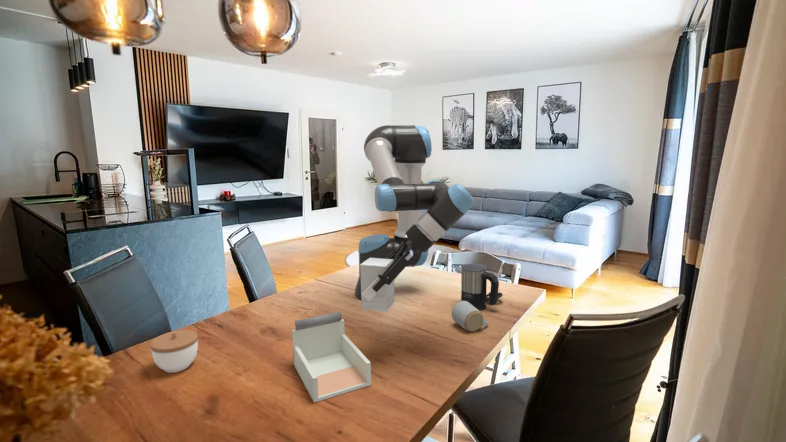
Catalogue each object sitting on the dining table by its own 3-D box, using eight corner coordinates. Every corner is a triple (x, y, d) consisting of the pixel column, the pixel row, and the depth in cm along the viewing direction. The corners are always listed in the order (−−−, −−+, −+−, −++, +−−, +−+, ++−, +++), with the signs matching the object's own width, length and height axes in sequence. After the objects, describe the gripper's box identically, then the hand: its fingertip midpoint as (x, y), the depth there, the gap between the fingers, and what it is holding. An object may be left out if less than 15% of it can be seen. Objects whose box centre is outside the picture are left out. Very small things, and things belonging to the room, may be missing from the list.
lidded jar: (168, 382, 95) (163, 346, 93) (145, 370, 101) (141, 336, 99) (208, 362, 104) (205, 329, 102) (185, 352, 110) (182, 320, 108)
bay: (293, 363, 103) (290, 320, 101) (343, 350, 110) (341, 309, 108) (314, 402, 87) (311, 351, 85) (371, 384, 93) (370, 337, 91)
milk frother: (457, 309, 139) (458, 268, 136) (466, 294, 153) (467, 257, 151) (498, 314, 134) (499, 273, 131) (503, 299, 148) (505, 261, 145)
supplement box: (395, 302, 109) (395, 258, 107) (386, 312, 102) (385, 266, 100) (370, 299, 112) (370, 256, 109) (360, 309, 105) (359, 263, 103)
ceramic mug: (464, 335, 119) (465, 311, 117) (450, 324, 126) (451, 301, 125) (493, 329, 123) (494, 306, 122) (478, 319, 130) (479, 297, 129)
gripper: (440, 252, 94) (375, 316, 96) (430, 234, 115) (376, 286, 117) (418, 231, 93) (353, 296, 95) (412, 216, 114) (358, 269, 116)
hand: (366, 290), depth 106 cm, fingers closed on supplement box, 9 cm apart
